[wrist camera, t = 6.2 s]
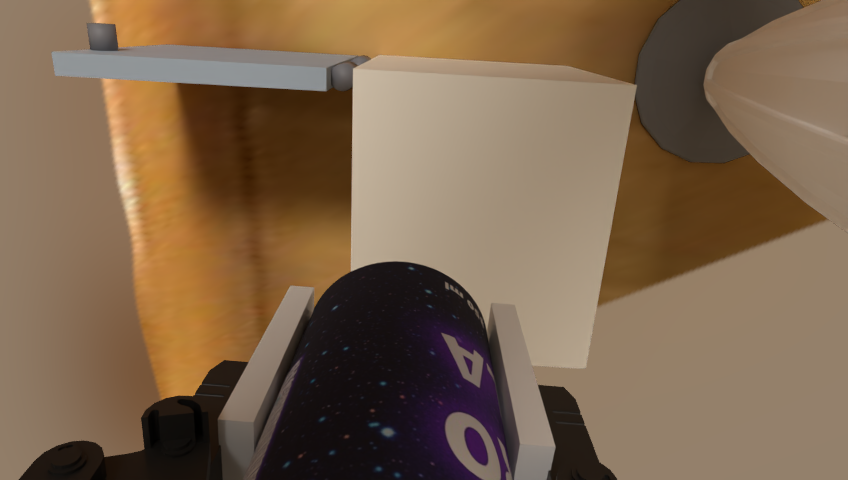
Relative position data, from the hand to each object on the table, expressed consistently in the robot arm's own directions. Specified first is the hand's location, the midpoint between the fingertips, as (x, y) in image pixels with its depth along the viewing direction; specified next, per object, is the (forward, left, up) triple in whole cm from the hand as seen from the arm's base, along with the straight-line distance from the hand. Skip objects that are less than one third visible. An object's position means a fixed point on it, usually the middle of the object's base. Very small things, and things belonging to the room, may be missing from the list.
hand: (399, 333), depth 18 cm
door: (-8, -9, -21) cm, 24 cm away
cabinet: (-1, +3, -22) cm, 22 cm away
